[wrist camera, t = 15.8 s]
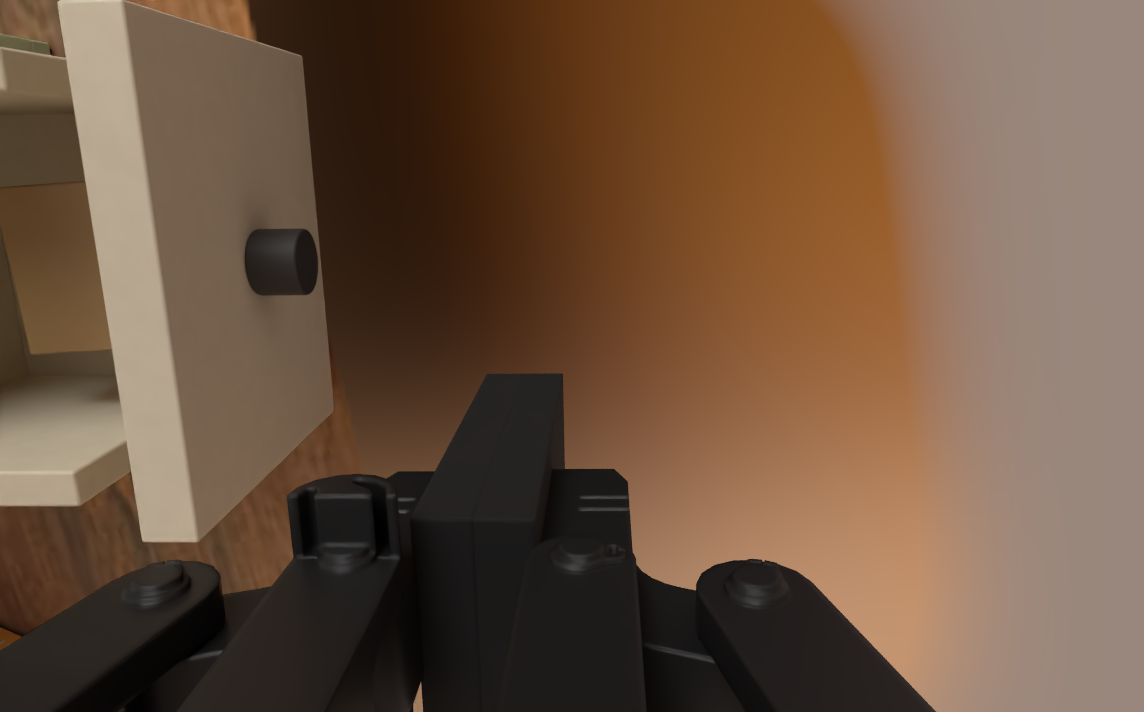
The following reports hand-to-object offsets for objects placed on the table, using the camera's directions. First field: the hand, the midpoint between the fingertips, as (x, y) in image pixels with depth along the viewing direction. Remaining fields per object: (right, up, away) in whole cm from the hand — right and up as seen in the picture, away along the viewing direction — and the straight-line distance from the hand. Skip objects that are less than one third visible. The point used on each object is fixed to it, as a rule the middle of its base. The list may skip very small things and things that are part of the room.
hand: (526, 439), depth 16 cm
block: (-10, +5, +7) cm, 13 cm away
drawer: (-11, +5, +8) cm, 14 cm away
